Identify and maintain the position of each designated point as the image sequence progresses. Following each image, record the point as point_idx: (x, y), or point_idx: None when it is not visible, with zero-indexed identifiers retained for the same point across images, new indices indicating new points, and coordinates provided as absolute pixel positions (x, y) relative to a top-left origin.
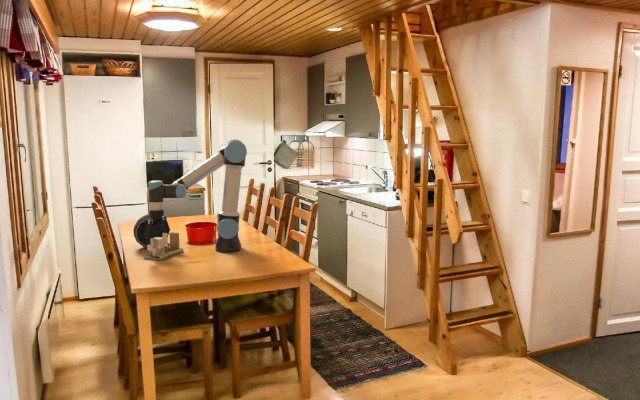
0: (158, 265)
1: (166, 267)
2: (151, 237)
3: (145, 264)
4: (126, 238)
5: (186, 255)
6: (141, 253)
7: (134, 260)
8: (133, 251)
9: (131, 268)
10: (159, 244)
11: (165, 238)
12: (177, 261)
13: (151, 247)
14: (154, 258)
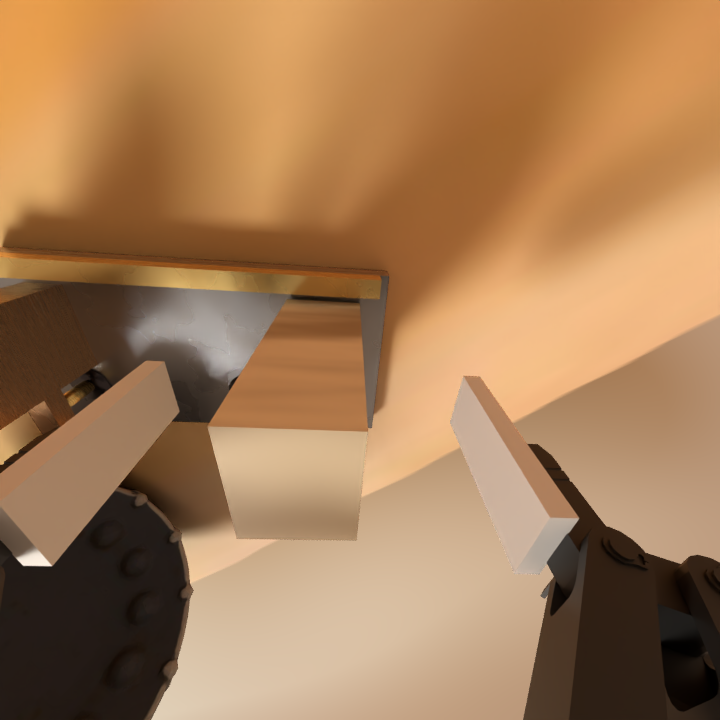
0: (541, 205)
1: (634, 44)
2: (69, 580)
3: (507, 336)
4: None
5: (89, 96)
6: None
7: (415, 448)
8: None
9: (612, 370)
10: (363, 377)
11: (107, 438)
12: (365, 53)
13: (495, 402)
14: (380, 344)
